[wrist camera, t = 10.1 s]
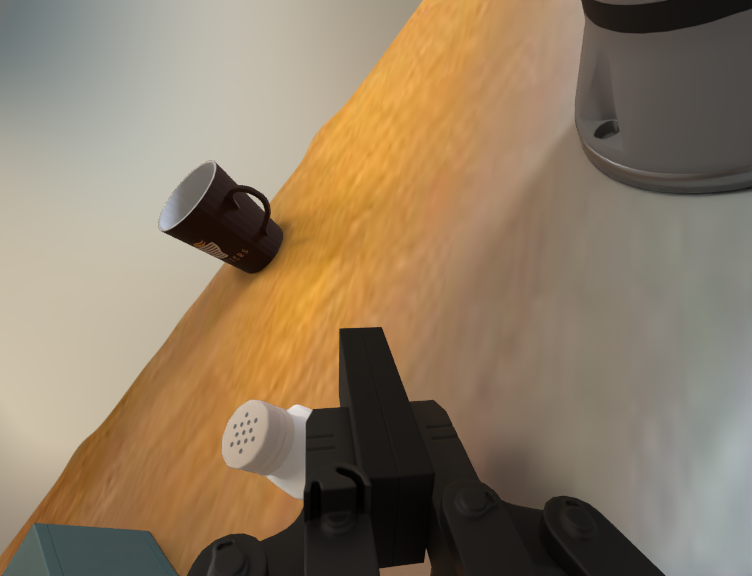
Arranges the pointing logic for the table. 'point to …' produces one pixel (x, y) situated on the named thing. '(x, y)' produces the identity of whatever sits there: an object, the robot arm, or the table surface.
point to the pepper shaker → (269, 443)
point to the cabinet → (88, 553)
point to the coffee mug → (222, 219)
